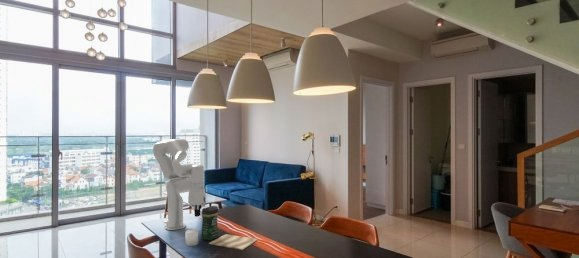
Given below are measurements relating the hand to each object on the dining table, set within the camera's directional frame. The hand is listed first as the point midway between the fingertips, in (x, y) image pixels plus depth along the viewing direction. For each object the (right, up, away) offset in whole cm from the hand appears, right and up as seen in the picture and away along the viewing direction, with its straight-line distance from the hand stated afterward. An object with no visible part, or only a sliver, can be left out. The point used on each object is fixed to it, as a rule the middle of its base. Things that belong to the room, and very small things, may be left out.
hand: (197, 215), depth 185 cm
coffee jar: (+8, -12, -4) cm, 15 cm away
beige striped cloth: (+24, -12, -10) cm, 28 cm away
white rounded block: (0, -12, -12) cm, 17 cm away
